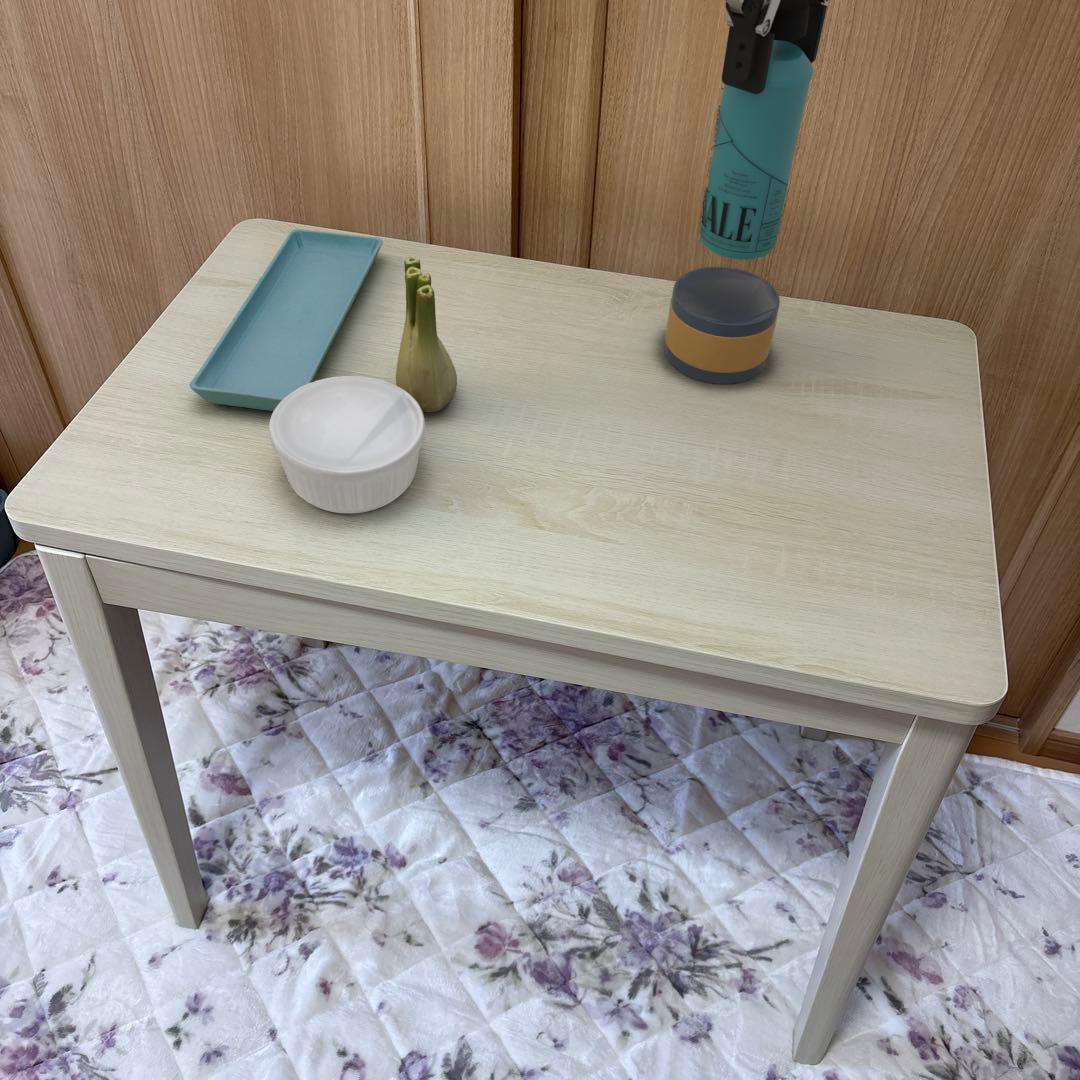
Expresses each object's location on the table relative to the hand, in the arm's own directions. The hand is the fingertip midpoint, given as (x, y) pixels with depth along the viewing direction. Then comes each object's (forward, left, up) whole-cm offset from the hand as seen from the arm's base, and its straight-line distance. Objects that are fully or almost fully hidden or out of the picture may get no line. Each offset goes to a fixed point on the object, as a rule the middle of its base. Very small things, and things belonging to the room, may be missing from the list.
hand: (769, 70), depth 76 cm
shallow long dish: (+34, -15, -25) cm, 45 cm away
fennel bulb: (+26, -2, -25) cm, 36 cm away
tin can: (0, 0, -25) cm, 25 cm away
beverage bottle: (0, 0, -15) cm, 15 cm away
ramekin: (+34, +5, -25) cm, 42 cm away
